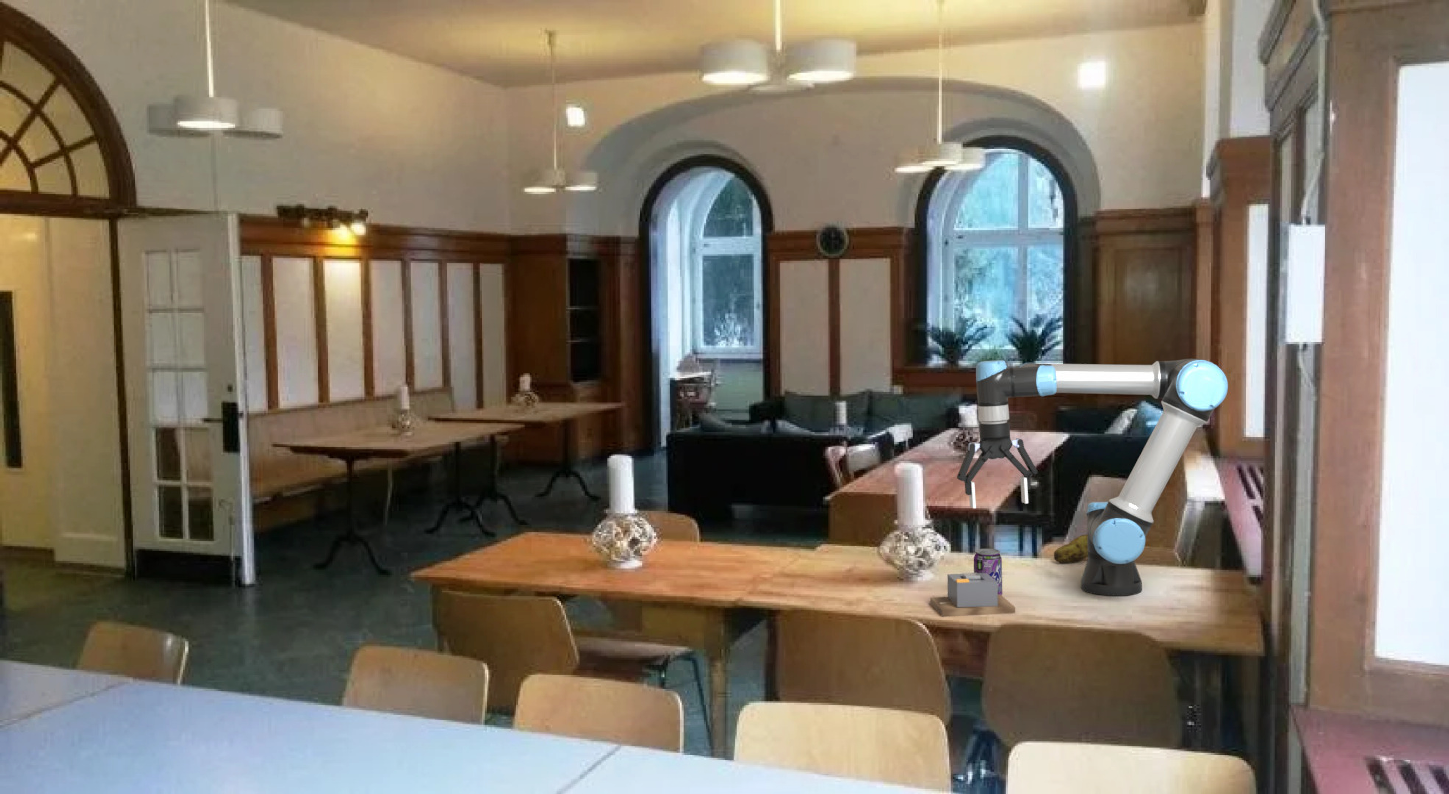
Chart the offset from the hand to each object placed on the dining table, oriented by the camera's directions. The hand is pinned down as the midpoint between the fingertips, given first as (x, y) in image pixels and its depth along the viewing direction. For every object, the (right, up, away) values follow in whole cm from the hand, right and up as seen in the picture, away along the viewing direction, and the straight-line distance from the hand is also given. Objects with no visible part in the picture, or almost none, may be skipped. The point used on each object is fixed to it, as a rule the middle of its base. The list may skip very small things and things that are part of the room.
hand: (999, 505), depth 303 cm
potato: (+32, -21, +42) cm, 57 cm away
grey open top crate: (-8, -24, -5) cm, 25 cm away
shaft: (-8, -24, -5) cm, 25 cm away
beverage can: (-1, -24, +6) cm, 25 cm away
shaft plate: (-8, -25, -5) cm, 27 cm away
